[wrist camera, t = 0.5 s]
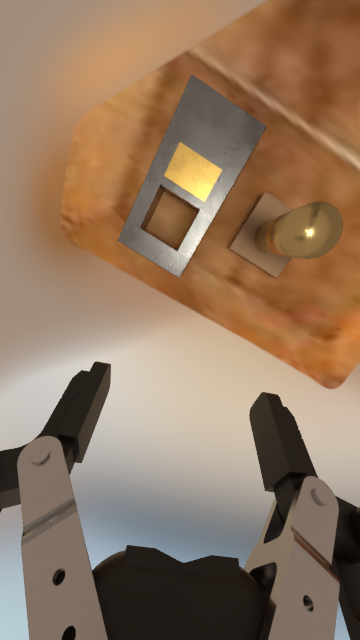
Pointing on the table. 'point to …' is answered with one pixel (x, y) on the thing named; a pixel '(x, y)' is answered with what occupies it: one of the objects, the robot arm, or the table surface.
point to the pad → (245, 237)
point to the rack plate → (192, 170)
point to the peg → (301, 232)
